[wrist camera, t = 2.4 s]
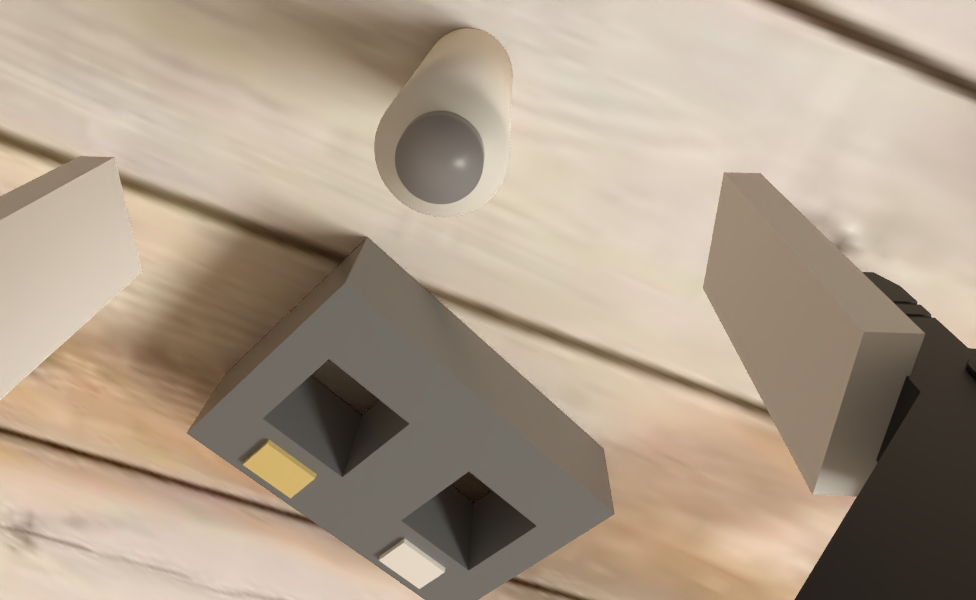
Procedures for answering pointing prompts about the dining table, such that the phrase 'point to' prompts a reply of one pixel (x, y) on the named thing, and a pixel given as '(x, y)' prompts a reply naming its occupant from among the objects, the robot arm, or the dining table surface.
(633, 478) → the dining table surface
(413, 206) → the plug
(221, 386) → the socket block
